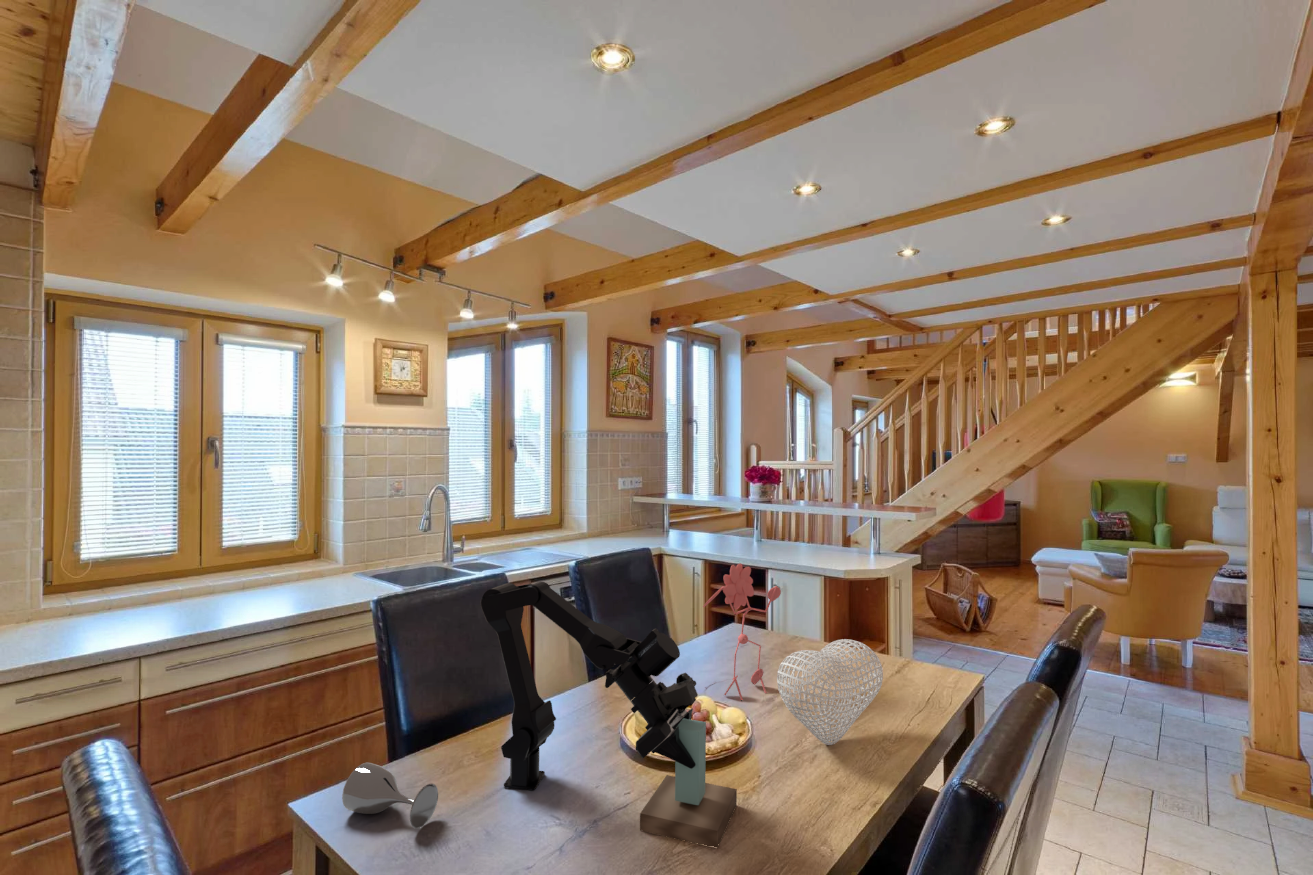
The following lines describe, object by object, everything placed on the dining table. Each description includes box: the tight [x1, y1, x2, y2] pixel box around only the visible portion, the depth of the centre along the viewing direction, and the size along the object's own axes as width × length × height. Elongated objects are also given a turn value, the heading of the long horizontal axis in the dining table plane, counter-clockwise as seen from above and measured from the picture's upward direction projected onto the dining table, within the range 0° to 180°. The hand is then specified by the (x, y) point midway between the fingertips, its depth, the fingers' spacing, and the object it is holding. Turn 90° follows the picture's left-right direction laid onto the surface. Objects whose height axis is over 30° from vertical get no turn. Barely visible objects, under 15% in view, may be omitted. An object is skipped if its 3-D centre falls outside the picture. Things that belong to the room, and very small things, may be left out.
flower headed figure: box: [702, 562, 782, 701], centre depth 178 cm, size 15×26×35 cm, turn 128°
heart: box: [776, 638, 884, 746], centre depth 146 cm, size 28×16×22 cm, turn 127°
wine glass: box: [341, 762, 439, 830], centre depth 116 cm, size 8×8×15 cm
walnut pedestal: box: [639, 774, 738, 848], centre depth 117 cm, size 14×14×3 cm
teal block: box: [674, 718, 707, 805], centre depth 117 cm, size 4×4×13 cm
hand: (697, 760), depth 116 cm, fingers open, 5 cm apart
